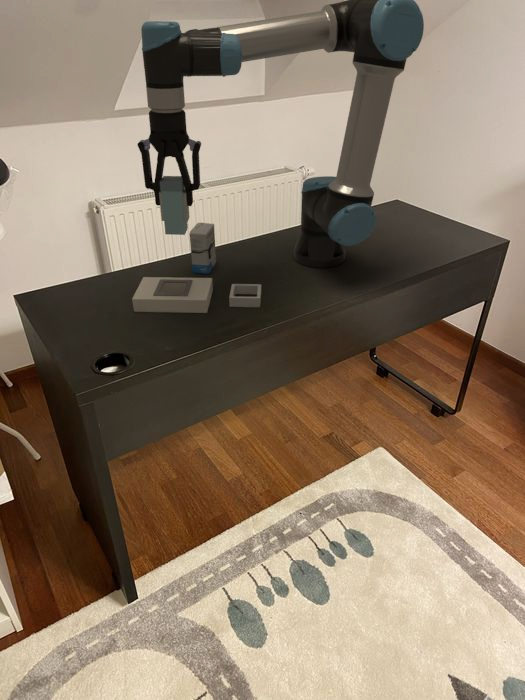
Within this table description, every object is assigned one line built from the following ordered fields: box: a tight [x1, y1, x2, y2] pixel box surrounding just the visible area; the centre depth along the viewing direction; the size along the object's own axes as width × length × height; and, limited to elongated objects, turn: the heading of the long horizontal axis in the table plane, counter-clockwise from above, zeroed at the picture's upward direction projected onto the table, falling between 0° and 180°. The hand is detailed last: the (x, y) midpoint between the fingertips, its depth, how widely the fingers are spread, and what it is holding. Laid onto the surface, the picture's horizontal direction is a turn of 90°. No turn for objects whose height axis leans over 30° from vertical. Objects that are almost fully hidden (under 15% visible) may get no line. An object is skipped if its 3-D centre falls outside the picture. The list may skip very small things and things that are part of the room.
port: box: [131, 276, 214, 314], centre depth 132 cm, size 18×12×4 cm, turn 88°
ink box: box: [189, 222, 217, 275], centre depth 146 cm, size 8×5×12 cm, turn 168°
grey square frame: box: [228, 283, 262, 308], centre depth 133 cm, size 8×8×2 cm
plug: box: [160, 175, 189, 236], centre depth 119 cm, size 5×5×12 cm
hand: (175, 218), depth 121 cm, fingers closed on plug, 4 cm apart
